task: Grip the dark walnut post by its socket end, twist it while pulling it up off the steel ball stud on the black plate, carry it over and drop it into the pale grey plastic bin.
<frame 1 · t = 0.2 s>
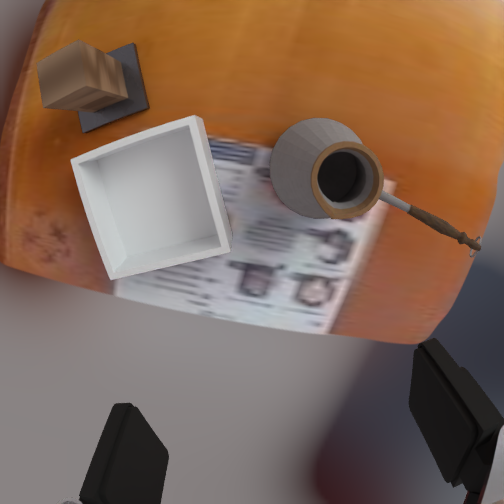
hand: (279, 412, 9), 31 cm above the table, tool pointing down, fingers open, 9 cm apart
stud plate: (109, 88, 32), on the table
walnut post: (106, 87, 31), point 1 cm above the table, touching stud plate
coffee pot: (350, 181, 38), on the table
grey bin: (159, 193, 37), on the table
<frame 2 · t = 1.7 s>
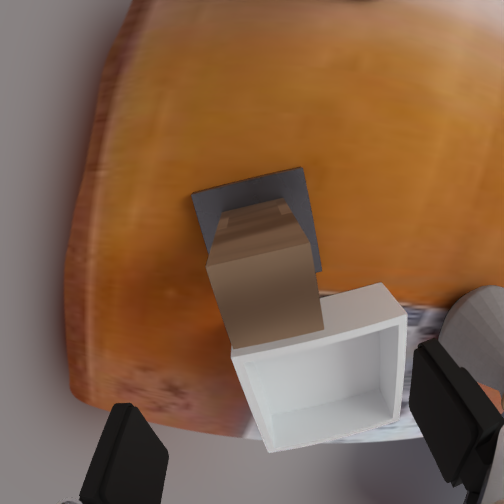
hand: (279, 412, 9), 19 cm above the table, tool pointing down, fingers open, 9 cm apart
stud plate: (259, 230, 27), on the table
walnut post: (259, 234, 26), point 1 cm above the table, touching stud plate
coffee pot: (486, 325, 32), on the table
grey bin: (318, 358, 32), on the table
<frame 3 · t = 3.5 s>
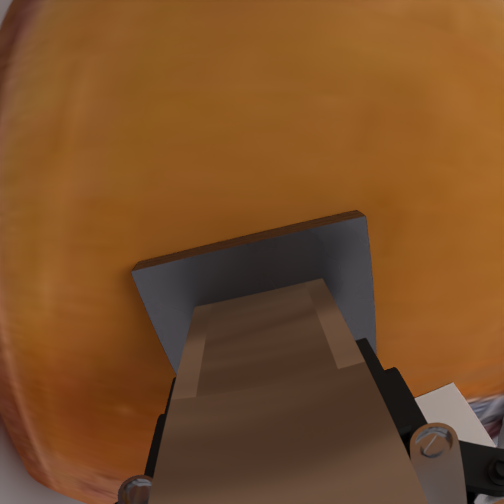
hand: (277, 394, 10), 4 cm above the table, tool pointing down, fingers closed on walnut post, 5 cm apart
stud plate: (269, 331, 14), on the table
walnut post: (271, 345, 13), point 1 cm above the table, touching gripper, stud plate
grey bin: (348, 473, 19), on the table
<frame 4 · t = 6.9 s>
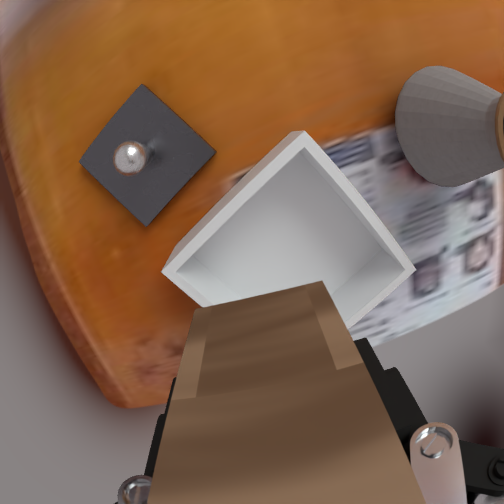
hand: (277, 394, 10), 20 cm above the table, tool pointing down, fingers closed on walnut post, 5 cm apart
stud plate: (145, 154, 26), on the table
walnut post: (271, 347, 13), point 17 cm above the table, touching gripper
coffee pot: (466, 124, 26), on the table
grey bin: (287, 245, 30), on the table
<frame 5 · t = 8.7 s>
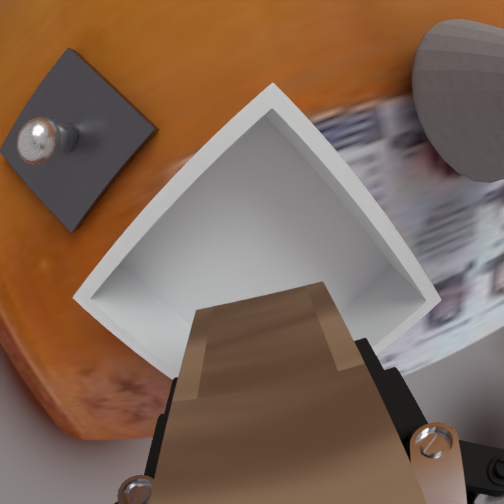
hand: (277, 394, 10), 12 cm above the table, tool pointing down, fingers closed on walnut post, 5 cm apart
stud plate: (71, 138, 18), on the table
walnut post: (272, 347, 13), point 9 cm above the table, touching gripper
coffee pot: (499, 104, 17), on the table
grey bin: (258, 260, 21), on the table
when the fingers open (5 cm above the table, at t = 10.3 s): walnut post drops 1 cm, resting on grey bin.
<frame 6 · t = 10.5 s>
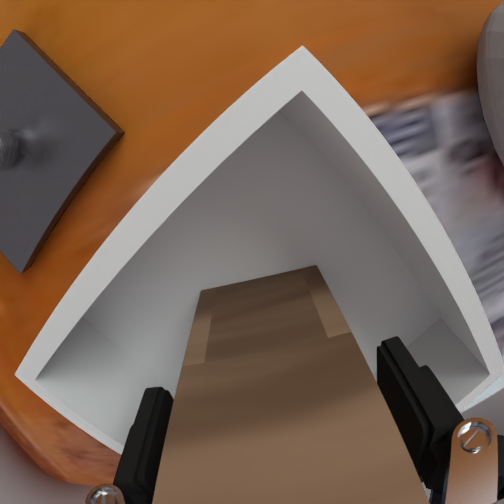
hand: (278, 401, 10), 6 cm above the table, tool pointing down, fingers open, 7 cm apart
stud plate: (16, 148, 12), on the table
walnut post: (270, 326, 14), point 1 cm above the table, touching grey bin
grey bin: (267, 314, 15), on the table
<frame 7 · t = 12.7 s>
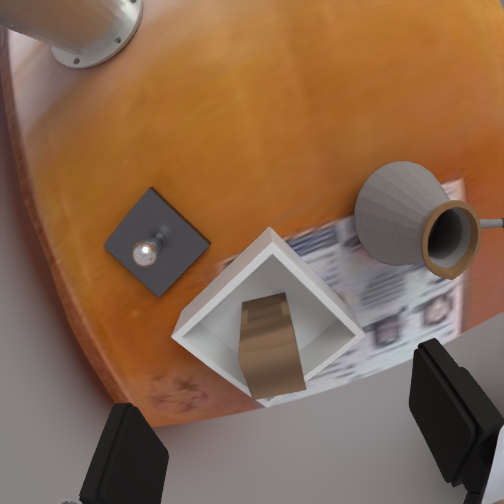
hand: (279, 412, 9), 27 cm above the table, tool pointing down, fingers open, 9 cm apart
stud plate: (155, 242, 35), on the table
walnut post: (268, 315, 37), point 1 cm above the table, touching grey bin
coffee pot: (427, 203, 34), on the table
grey bin: (267, 311, 38), on the table
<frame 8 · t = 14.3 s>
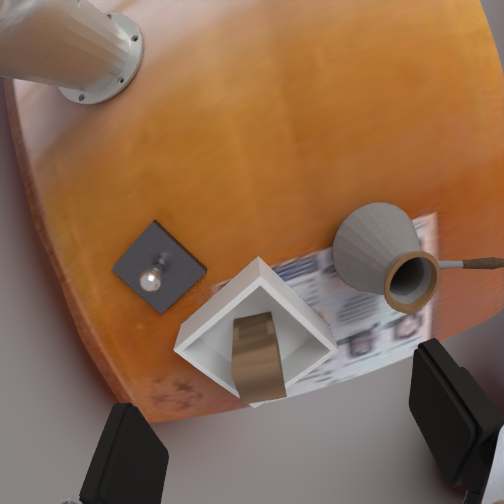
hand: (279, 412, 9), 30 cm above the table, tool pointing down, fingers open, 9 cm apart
stud plate: (158, 267, 40), on the table
walnut post: (256, 330, 42), point 1 cm above the table, touching grey bin
coffee pot: (400, 235, 40), on the table
grey bin: (255, 326, 43), on the table
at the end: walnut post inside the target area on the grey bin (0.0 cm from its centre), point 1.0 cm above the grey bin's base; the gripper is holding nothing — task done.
